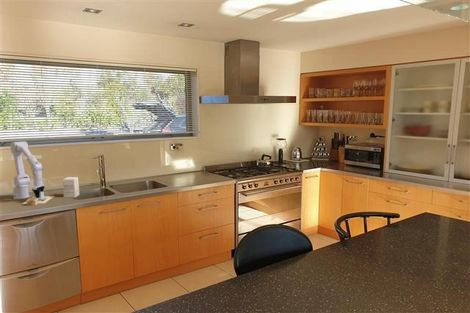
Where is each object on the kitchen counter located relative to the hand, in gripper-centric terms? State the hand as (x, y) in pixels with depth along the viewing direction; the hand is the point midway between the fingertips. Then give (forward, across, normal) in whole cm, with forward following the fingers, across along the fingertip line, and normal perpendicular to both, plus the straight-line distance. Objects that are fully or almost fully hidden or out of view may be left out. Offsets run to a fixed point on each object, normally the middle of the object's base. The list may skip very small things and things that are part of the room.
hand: (39, 196), depth 252 cm
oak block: (+3, -12, 0) cm, 12 cm away
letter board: (+3, +1, 0) cm, 3 cm away
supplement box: (+3, +10, -20) cm, 23 cm away
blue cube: (+2, 0, 0) cm, 2 cm away
